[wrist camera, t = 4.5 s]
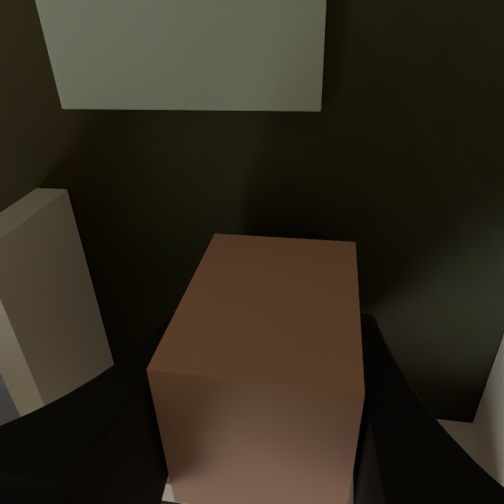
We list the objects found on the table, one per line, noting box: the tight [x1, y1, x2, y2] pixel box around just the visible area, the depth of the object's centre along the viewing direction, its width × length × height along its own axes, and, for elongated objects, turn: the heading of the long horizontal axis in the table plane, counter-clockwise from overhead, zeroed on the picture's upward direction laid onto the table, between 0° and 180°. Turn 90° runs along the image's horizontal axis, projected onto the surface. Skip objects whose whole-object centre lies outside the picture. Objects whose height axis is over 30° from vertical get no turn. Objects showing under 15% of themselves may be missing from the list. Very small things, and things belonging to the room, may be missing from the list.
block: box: [146, 234, 365, 504], centre depth 13 cm, size 4×5×6 cm
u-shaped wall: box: [0, 188, 504, 504], centre depth 16 cm, size 18×11×4 cm, turn 92°
